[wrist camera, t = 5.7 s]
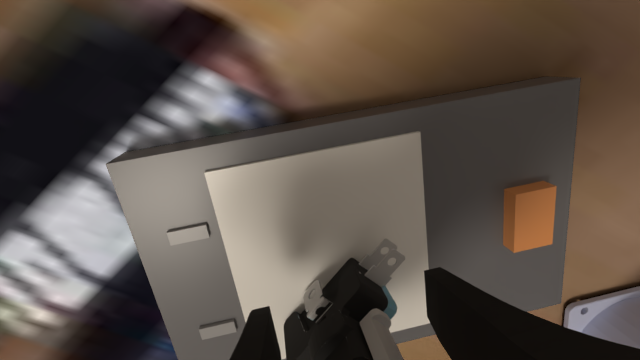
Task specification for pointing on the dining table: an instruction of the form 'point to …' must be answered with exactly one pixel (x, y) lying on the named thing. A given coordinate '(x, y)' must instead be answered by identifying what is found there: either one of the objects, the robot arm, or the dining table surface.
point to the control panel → (356, 208)
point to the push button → (348, 313)
